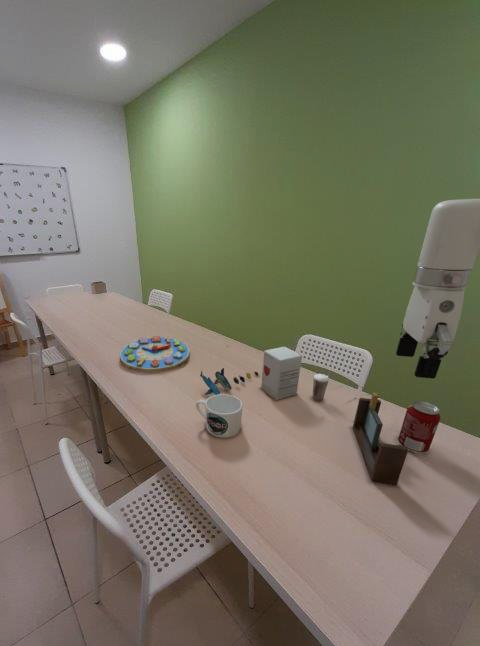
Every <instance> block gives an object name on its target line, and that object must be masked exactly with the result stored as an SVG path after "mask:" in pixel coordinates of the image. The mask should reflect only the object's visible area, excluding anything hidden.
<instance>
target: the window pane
mask: <svg viewBox="0 0 480 646" xmlns="http://www.w3.org/2000/svg"><path fill="white" fill-rule="evenodd" d="M370 399H371V401H370V404H368V408H367V412H366V416H365V420H364V424H363V430H364V433H365V435H366V438H367V440H368V442H369V445H370V447H371V450H376V447H377V443H378V440H379V439H380V437H381V433H382V428H383V425H384V424H383V421H382V420H381V417H380V416H379V413H378V414H377V412H376V410H375V408H376V404H377V400H379V395H378V393H377V392H372V393H371V396H370ZM379 441H380V440H379Z"/></svg>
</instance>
